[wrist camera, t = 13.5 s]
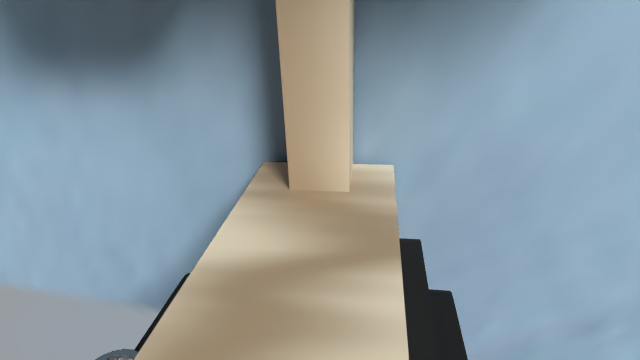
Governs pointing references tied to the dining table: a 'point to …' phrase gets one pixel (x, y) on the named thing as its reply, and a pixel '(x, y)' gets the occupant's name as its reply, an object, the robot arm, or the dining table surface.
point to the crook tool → (301, 229)
